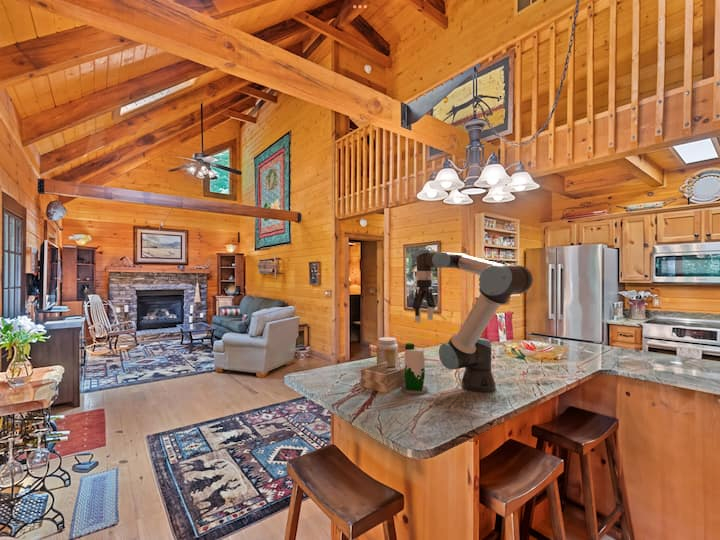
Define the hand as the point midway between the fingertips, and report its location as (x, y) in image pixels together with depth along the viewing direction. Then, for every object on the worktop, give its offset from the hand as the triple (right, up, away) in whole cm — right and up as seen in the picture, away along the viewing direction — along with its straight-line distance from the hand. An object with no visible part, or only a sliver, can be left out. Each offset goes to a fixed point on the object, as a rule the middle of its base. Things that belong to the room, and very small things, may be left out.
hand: (424, 321), depth 178 cm
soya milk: (-8, -28, -19) cm, 35 cm away
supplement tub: (-17, -30, +19) cm, 39 cm away
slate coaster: (-8, -29, -19) cm, 36 cm away
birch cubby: (-20, -29, -10) cm, 37 cm away
